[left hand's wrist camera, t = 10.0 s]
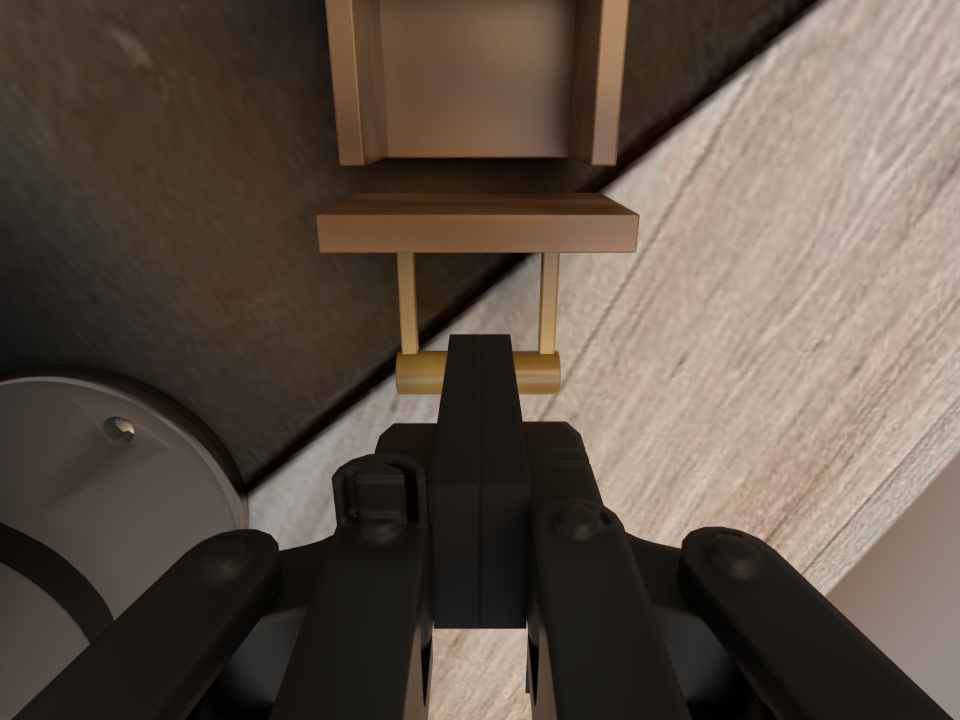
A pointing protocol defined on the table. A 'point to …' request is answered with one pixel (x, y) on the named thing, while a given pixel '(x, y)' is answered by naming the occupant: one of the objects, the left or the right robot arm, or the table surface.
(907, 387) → the table surface
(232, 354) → the table surface
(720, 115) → the table surface
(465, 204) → the drawer
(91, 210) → the table surface
